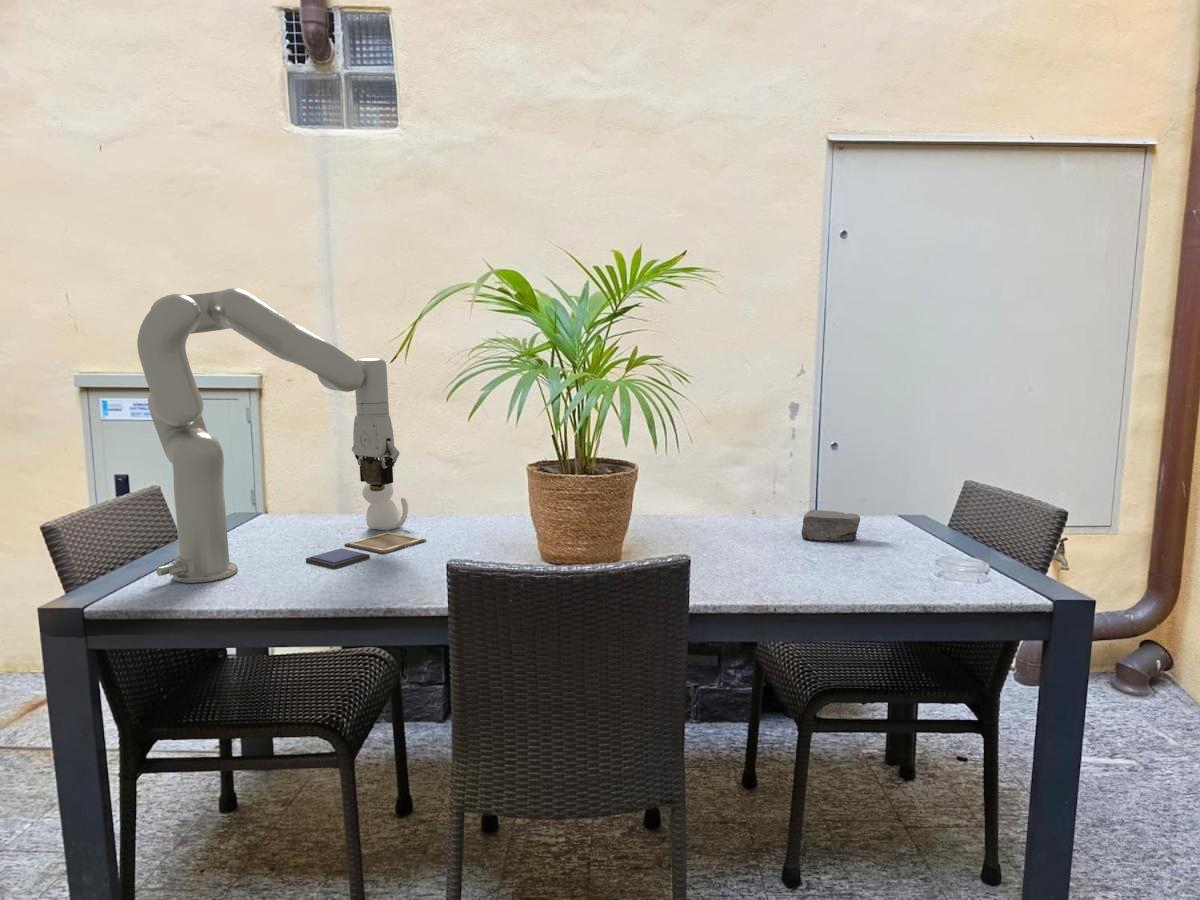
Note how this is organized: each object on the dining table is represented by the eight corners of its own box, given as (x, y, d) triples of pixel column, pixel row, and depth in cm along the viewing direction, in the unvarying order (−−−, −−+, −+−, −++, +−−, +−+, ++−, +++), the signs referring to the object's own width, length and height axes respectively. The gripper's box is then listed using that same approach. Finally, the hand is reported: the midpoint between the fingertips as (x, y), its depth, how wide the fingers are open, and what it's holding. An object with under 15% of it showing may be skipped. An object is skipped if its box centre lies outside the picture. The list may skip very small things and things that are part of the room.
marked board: (383, 554, 184) (383, 551, 184) (344, 545, 192) (344, 543, 192) (426, 541, 196) (426, 538, 196) (388, 534, 204) (388, 531, 203)
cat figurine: (371, 524, 215) (369, 470, 213) (415, 525, 213) (413, 471, 211) (357, 532, 206) (355, 476, 204) (403, 533, 204) (400, 477, 202)
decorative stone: (794, 535, 202) (804, 543, 192) (795, 509, 202) (805, 516, 192) (850, 535, 202) (863, 544, 193) (852, 509, 202) (865, 516, 192)
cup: (397, 487, 193) (396, 456, 192) (386, 493, 186) (384, 460, 185) (368, 487, 194) (367, 455, 193) (356, 493, 187) (354, 460, 185)
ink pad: (334, 568, 173) (334, 563, 173) (306, 562, 178) (305, 557, 178) (369, 558, 181) (369, 553, 181) (341, 552, 186) (341, 547, 186)
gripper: (336, 409, 189) (341, 481, 191) (384, 413, 179) (389, 488, 182) (361, 407, 195) (365, 476, 197) (409, 410, 185) (413, 483, 188)
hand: (376, 481), depth 189 cm, fingers closed on cup, 7 cm apart
